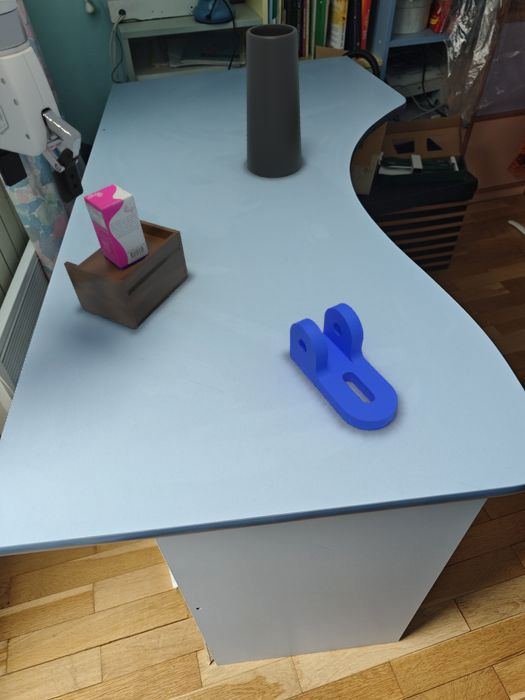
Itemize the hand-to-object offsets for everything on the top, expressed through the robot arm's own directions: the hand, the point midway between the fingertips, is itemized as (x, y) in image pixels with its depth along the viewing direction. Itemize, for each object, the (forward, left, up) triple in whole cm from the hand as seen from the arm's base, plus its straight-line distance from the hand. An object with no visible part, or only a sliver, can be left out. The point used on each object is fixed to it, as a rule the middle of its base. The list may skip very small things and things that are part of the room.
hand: (44, 189), depth 62 cm
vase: (-2, +67, -27) cm, 72 cm away
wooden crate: (-2, +12, -27) cm, 29 cm away
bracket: (+40, +9, -27) cm, 49 cm away
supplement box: (-2, +12, -19) cm, 23 cm away
